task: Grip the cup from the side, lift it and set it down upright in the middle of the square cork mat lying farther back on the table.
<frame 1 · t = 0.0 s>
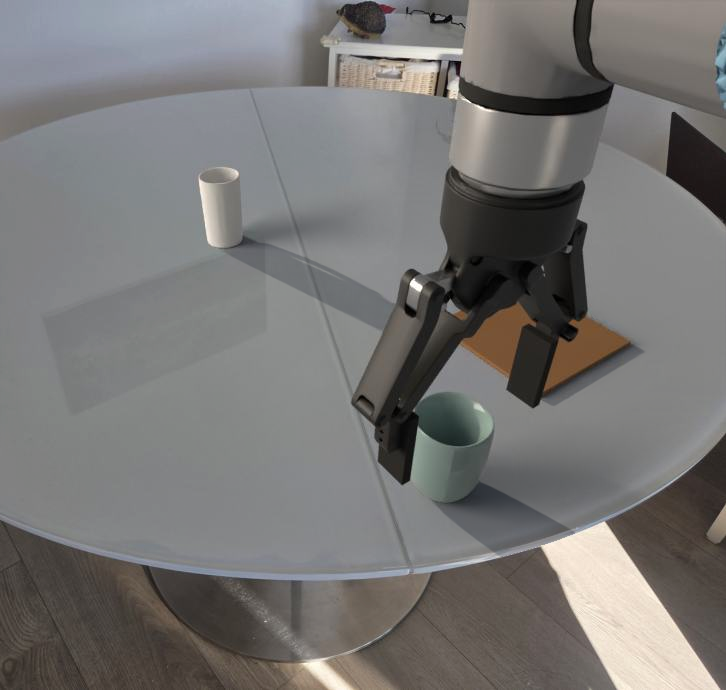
hand: (461, 432, 49), 19 cm above the table, tool pointing down, fingers open, 13 cm apart
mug: (225, 236, 114), on the table
cup: (440, 485, 69), on the table
cork mat: (528, 335, 87), on the table
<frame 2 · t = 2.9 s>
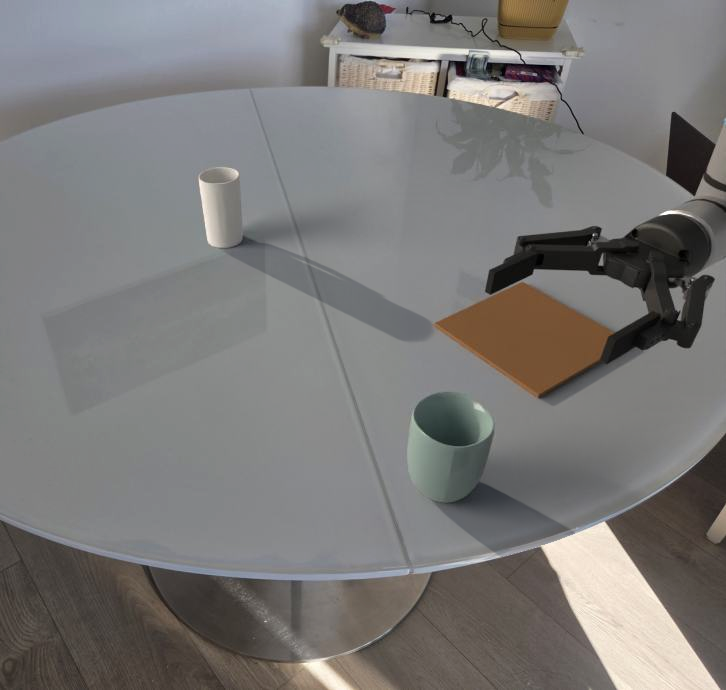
hand: (543, 314, 61), 18 cm above the table, tool horizontal, fingers open, 13 cm apart
nothing on the table moved.
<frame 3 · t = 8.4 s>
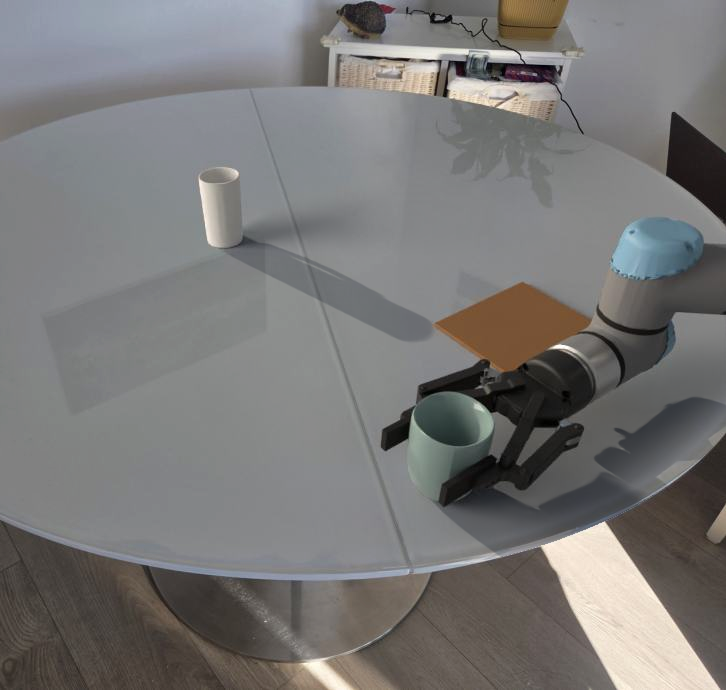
hand: (412, 466, 63), 6 cm above the table, tool horizontal, fingers closed on cup, 8 cm apart
cup: (440, 485, 69), on the table, touching gripper
everything else where it was.
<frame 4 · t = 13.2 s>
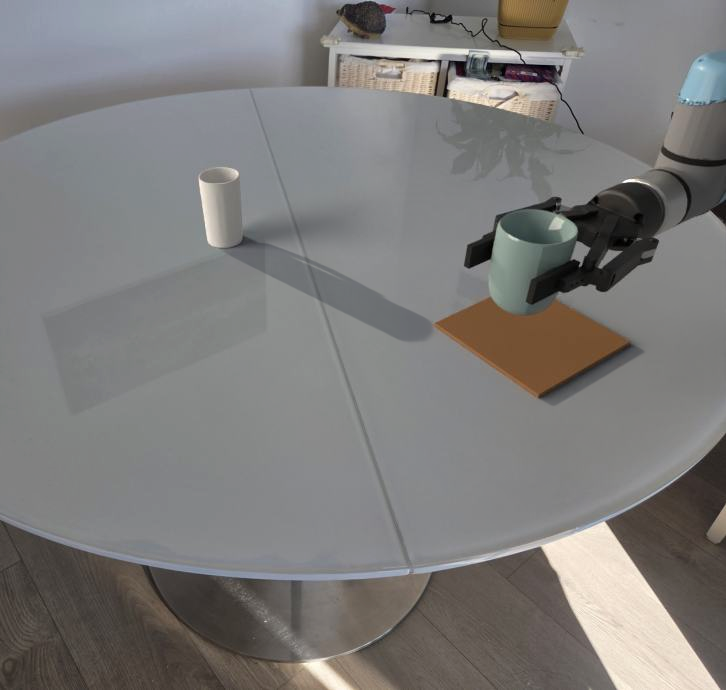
hand: (498, 273, 67), 18 cm above the table, tool horizontal, fingers closed on cup, 8 cm apart
cup: (518, 306, 72), point 12 cm above the table, touching gripper
everything else where it was.
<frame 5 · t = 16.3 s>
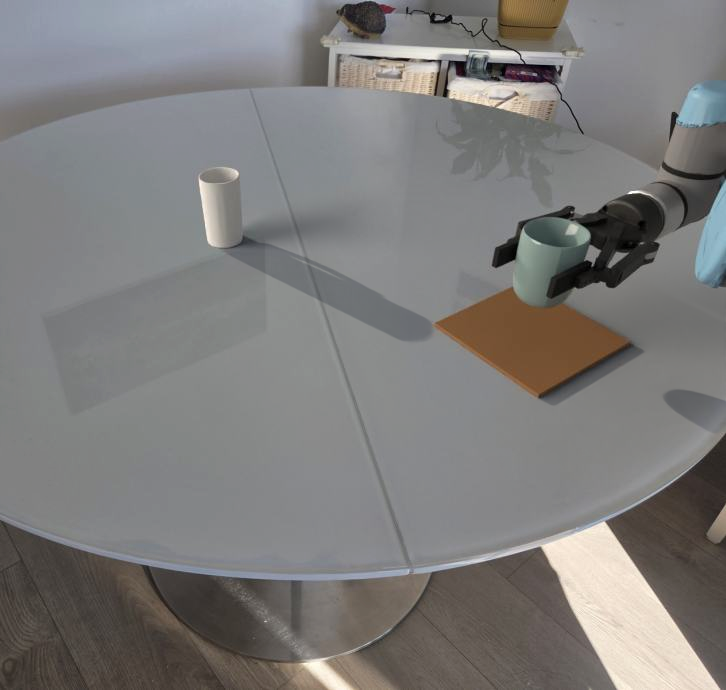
hand: (522, 272, 78), 12 cm above the table, tool horizontal, fingers closed on cup, 8 cm apart
cup: (538, 300, 84), point 6 cm above the table, touching gripper
everything else where it was.
when the fingers open (7 cm above the table, at t = 18.3 s): cup stays where it is, resting on cork mat.
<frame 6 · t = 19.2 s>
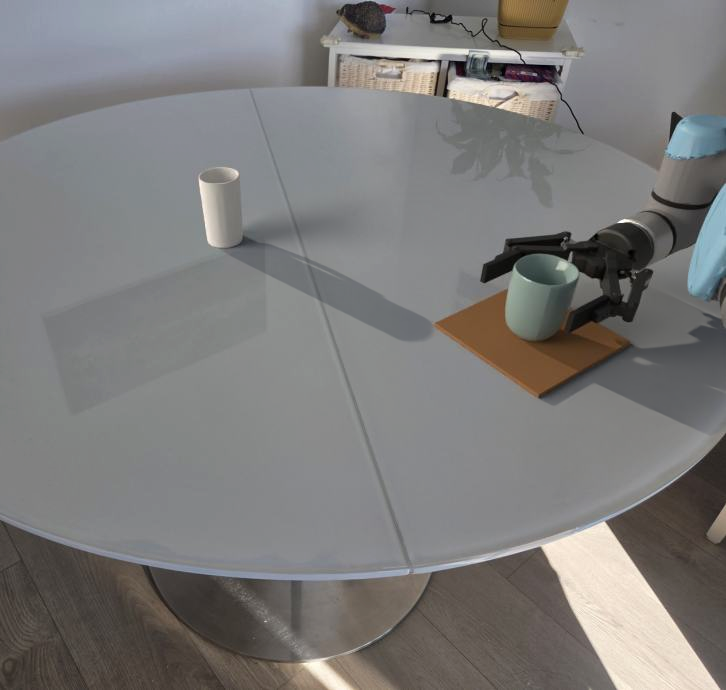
hand: (523, 297, 81), 8 cm above the table, tool horizontal, fingers open, 13 cm apart
cup: (529, 332, 87), resting on cork mat
everything else where it was.
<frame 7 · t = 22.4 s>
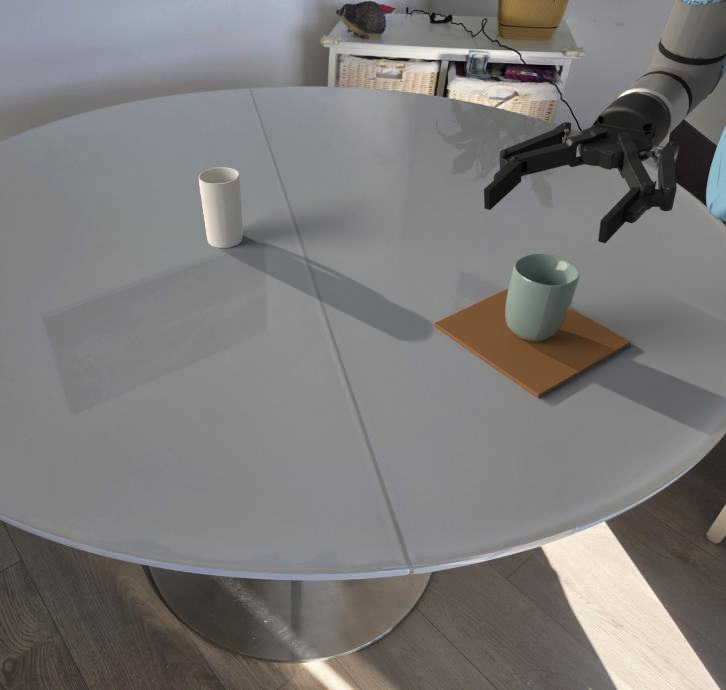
hand: (541, 215, 70), 21 cm above the table, tool horizontal, fingers open, 13 cm apart
nothing on the table moved.
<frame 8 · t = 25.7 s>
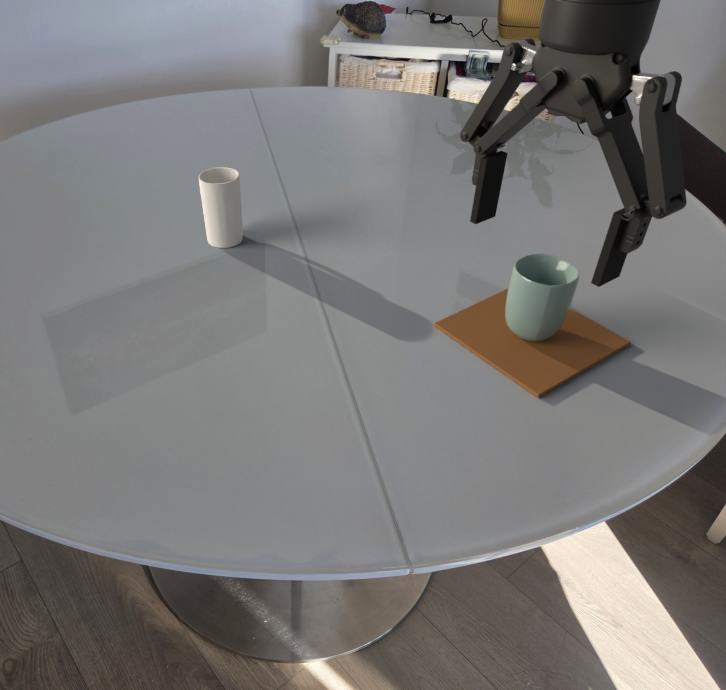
hand: (539, 247, 58), 25 cm above the table, tool pointing down, fingers open, 13 cm apart
nothing on the table moved.
at the end: cup inside the target area on the cork mat (0.1 cm from its centre), point 0.4 cm above the cork mat's base; cup tilted 0°; the gripper is holding nothing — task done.
